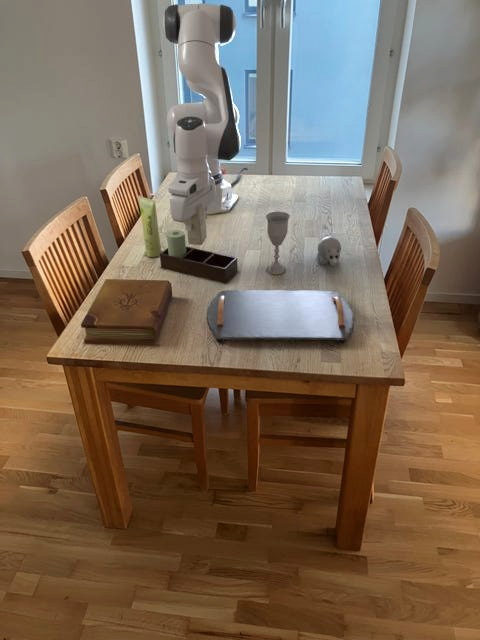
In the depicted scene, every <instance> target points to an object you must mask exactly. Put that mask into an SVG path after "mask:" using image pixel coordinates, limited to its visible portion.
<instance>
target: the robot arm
mask: <svg viewBox="0 0 480 640" xmlns="http://www.w3.org/2000/svg"><path fill="white" fill-rule="evenodd" d="M236 20H237V19H236V16H235V13H234V11H233V9H232V7H230V6H228V5H224V4H220V5H218V4H212V3H203V2H201V3H200V2H199V3H188V4H187V3H186V4H178V3H176V4H175V3H174V4H171V5H168V6H167V7H166V9H165V10H164V14H163V17H162V30H163V33H164V35H165V38H166V39H167V41H169V43H173V44H175V45H177V65H178V69H179V72H180V73H181V75H182V76H183V77H184V78H185V82H186V85H187V87H188V88H189V89H190V90H191V91H192V92H193V93H195V94H197V95H200V96H202V97H203V99H204V100H203V101H198V102H196V101H195V102H183V103H180V104H176V105H172V106H171V107H170V108H169V110H168V112H167V115H166V124H167V127H168V129H169V131H170V132H171V133H172V134H173V138H172V140H173V142H172V143H173V152H174V154H175V156H176V159H177V165H176V175H175V176H174V178H173V180H172V181H171V182H170V184H169V185H168V188H167V190H168V193H169V194H170V196H169V207H170V208H169V209H170V216H171V219H172V220H173V221H174V222H178V223H182V224H184V226H185V228H184V229H185V231H186V232H187V231H191V230H192V229H193V224H191V222H190V220H191V217H192V216H193V215H195V214H196V206H198V205H200V204H201V203H203V208H204V207H205V219H206V220H207V219H208V218H207V215H215V214H220V213H229V212H230V211H231V210H232V209H233V207H234V205H235V204H236V202H237V201H238V200H239V196H238V195H237V194H235V193H233V185H235V184H236V183H237V182H238V181H239V180H240V178H241V174H242V172H244V171H248V170H249V169H248V167H246V166H244V167H243V168H241V169H240V170H239V171H238V173H237V177H236V178H235V179H234V180H233V181H232V182H231V183H229V182H228V181H226V180H225V179H224V176H223V175H226V173H227V170H226V169H225V168H221V161H232V160H233V159H234V158H235V157H237V155H238V154H239V153H240V151H241V143H242V142H241V135H240V133H239V131H240V130H239V129H238V124H239V120H240V114H239V113H240V112H239V110H238V108H237V106H236V105H235V104H234V101H233V94H232V89H231V85H230V80H229V75H228V72H227V70H226V68H225V67H223V66H221V64H220V63H219V45H220V46H225V45H227V44H229V43H231V42H232V40H233V39H234V37H235V34H236V29H237V21H236Z"/></svg>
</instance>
